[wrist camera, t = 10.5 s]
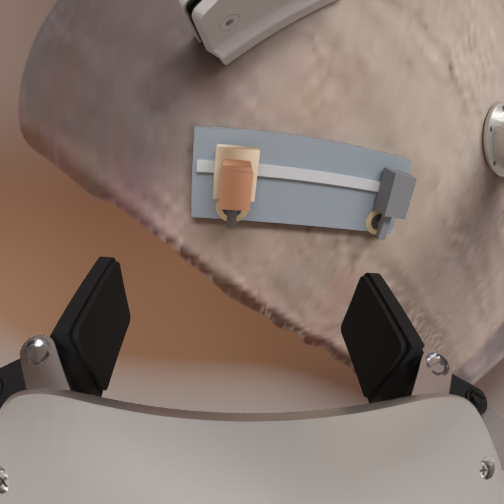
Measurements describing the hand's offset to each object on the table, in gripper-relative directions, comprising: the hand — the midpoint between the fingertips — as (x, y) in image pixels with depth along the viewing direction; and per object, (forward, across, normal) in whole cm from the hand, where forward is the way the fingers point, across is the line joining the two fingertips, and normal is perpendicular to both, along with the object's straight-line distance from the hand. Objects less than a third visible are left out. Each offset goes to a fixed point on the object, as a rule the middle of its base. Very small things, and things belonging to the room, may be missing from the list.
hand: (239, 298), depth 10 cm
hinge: (+22, -1, -19) cm, 30 cm away
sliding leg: (+20, 0, +2) cm, 20 cm away
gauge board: (+22, -8, +1) cm, 23 cm away
